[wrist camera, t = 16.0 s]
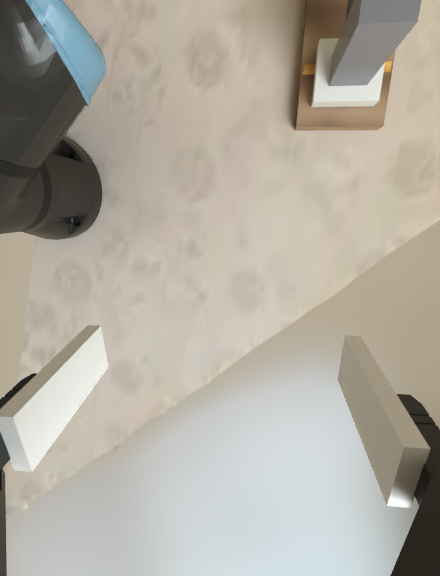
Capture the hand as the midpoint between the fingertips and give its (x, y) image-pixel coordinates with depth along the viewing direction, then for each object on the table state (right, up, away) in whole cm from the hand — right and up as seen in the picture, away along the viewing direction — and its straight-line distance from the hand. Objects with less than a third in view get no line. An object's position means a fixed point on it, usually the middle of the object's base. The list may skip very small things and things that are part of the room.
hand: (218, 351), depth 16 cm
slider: (+15, +28, +18) cm, 36 cm away
